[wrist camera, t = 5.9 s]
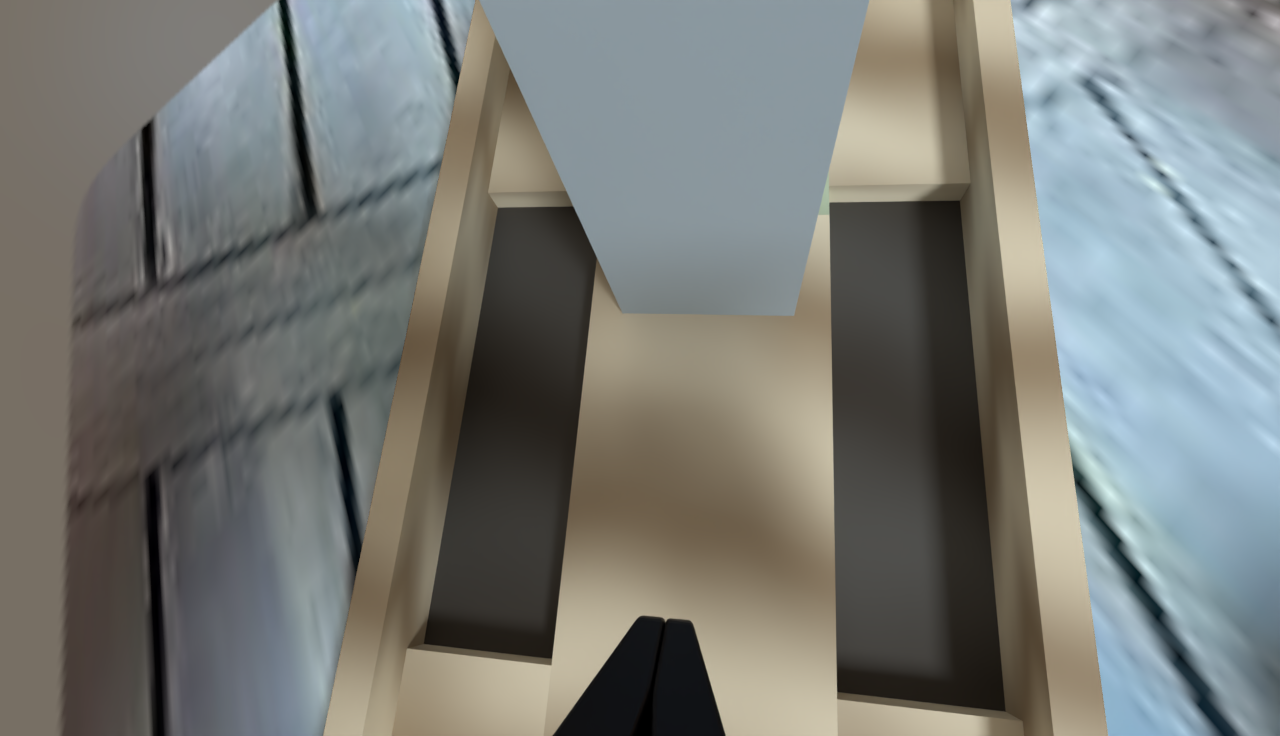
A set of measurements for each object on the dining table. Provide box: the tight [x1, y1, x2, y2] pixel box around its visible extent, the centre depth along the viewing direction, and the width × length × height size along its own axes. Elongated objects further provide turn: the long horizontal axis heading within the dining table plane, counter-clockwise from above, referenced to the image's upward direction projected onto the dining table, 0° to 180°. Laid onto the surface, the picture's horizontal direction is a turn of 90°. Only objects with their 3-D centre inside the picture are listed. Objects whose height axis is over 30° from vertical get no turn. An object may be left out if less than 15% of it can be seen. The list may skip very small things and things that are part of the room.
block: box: [479, 0, 869, 316], centre depth 14 cm, size 10×5×11 cm, turn 175°
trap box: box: [323, 0, 1108, 736], centre depth 17 cm, size 30×17×2 cm, turn 175°
